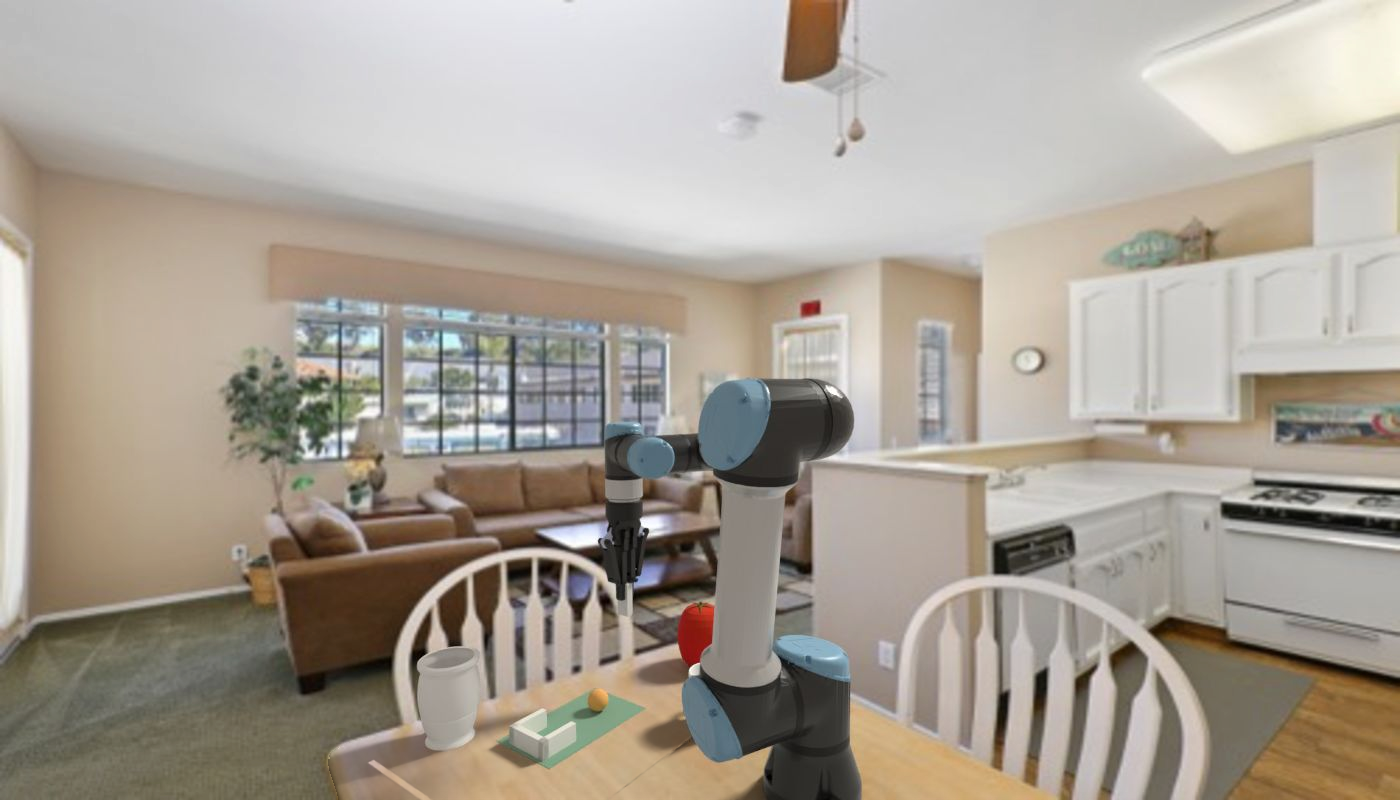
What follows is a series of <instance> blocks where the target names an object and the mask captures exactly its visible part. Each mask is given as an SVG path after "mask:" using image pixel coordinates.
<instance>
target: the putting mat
mask: <svg viewBox="0 0 1400 800" xmlns="http://www.w3.org/2000/svg"><path fill="white" fill-rule="evenodd" d="M595 689H597V688H596V687H595V688H592V689H591V690H589V691H587V692H585V693H582V694H581V695H579V696H578V697H576V698H574V699H572V700H570V701H568V702H566V703H565V704H563V705H561V706H559V707H557V708H555V709H553V710H551V711H550V712H547V727H546V728H545V729H543V730H541V731H539V732H538V733H537V734H539V735H541V736H543V737H545V736H546V735H548V734H550V733H552V732H553V731H555V730H557V729H559V728H560V727H562V726H564V725H566V724H567V723H569V722H571V721H572V722H574V723H576V742H574V743H572V744H571V745H569V746H567V747H566V748H564V749H562V750H561V751H559V752H558V753H556V754H554V755H553V756H551V757H549V758H548V759H546V760H544V761H542V760H540V759H538V758H536V757H534V756H532V755H530V754H528V753H526V752H524V751H523V750H521V749H519V748H517V747H515V746H513V745H511V744H509V734H507V735H506V736H503V737H502V738H500V739H498V740H496V742H497V743H499V744H501V745H503V746H505V747H506V748H509V750H512V751H514V752H515V753H518V754H519V755H522V756H524V757H525V758H527V759H530V760H531V761H533V762H535V763H537V764H538V765H541V766H543V767H544V768H546V769H548V770H551V769H553V768H554V767H555V766H557V765H558V764H560V763H562V762H564V761H565V760H566V759H568V758H570V757H571V756H573V755H574V754H576V753H577V752H579V751H580V750H582V749H584V748H585V747H587V746H588V745H590V744H592V743H593V742H595V741H596V740H599V739H600V738H601V737H603V736H604V735H606V734H607V733H610V731H613V730H614V729H615V728H617V727H619V726H620V725H621V724H623V723H625V722H627V721H628V720H631V719H632V717H635V716H636V715H638V714H640V713H641V712H643V711H644V710H646V709H647V708H646V707H644V706H642V705H641V704H636V703H634V702H632V701H630V700H627V699H624V698H622V697H618V696H616V695H614V694H611V693H609V692H606V693H607V695H608V704H607V706H606V707H605V709H603V710H602V711H598V712H596V711H593V710H591V709H590V707H589V706H588V696H589V694H590V693H591V692H592V691H593V690H595Z"/></svg>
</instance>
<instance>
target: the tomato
mask: <svg viewBox="0 0 1400 800" xmlns="http://www.w3.org/2000/svg"><path fill="white" fill-rule="evenodd" d="M714 609H715V605H713V604H711V603H709V601H706V602H703V601H699V602H691V604H689V605H687V606H686V607H685V609H684V610H683V611H682V612H681V615H680V619H679V622H678V625H677V632H676V633H677V644H678V645H677V646H678V650H679V652H680V656H681V658H682V660H683V662H684V663H685V665H687V666H688V667H689V668H691V667H692V666H693V665H695V664H697V663H700V658H701V654H702V652H703V651H704V649H705V648H707V647H708V646H709V645H711V644H712V637H713V623H714Z"/></svg>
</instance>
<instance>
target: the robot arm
mask: <svg viewBox="0 0 1400 800" xmlns="http://www.w3.org/2000/svg"><path fill="white" fill-rule="evenodd" d="M854 428H855V413H854V410H853V406H852V404H851V401H850V400H849V398H848V396H847V395H846V393H844V392H843V391H842V390H841V389H840V388H838V387H837V386H836V385H835V384H832V383H830V382H829V381H827V380H823V379H818V378H811V377H810V378H806V377H805V378H759V377H758V378H756V377H753V378H751V377H747V378H744V379H743V378H742V379H731V380H728V381H724V382H722V383H720V384H718V385H717V386H716V387H715V388H714V389H713V390H712V392H710V393H709V394H708V396H707V397H706V399H705V401H704V403H703V405H702V409H701V411H700V415H699V419H698V429H697V432H696V433H695V432H694V433H685V434H682V433H676V434H663V435H662V434H659V435H657V434H655V435H644V434H643V427H642V424H641V423H639V422H636V421H615V422H610V423H607V424H606V425H605V427H604V438H603V439H604V440H603V444H604V482H605V483H604V484H605V487H604V489H605V491H604V493H605V498H606V501H605V503H604V504H605V507H604V508H605V509H604V511H605V514H604V515H605V518H606V520H607V522H608V524H607V528H606V534H605V535H604V536H603V537H598V539H597V544H598V545H599V547H600V549H601V553H602V558H603V563H604V569H605V572H606V573H605V574H606V578H607V582H608V583H611V584H615V598H616V600H617V614H618V615H619V616H623V617H627V618H628V617H631V616H632V615H633V613H634V612H633V597H634V594H635V593H634V591H635V589H634V588H635V586H634V585H635V584H634V583H638V582H639V578H637V577H641V576H642V571H643V564H644V557H645V551H646V543H647V539H648V536H649V534H650V528H649V527H644V526H642V522H641V519H642V517H643V516H644V508H643V507H644V502H643V499H642V497H643V496H644V488H643V487H644V485H643V483H644V481H643V480H644V479H648V480H649V479H652V480H657V479H661V478H663V477H665V476H667V475H675V474H685V473H695V472H710V471H711V472H712V476H713V478H714V479H715V480H716V481H717V482H718V483H719V484H720V485H721V487H722V499H721V510H720V511H721V512H720V513H721V514H720V525H719V538H718V539H719V540H718V554H717V567H716V568H717V570H716V579H715V580H716V582H715V596H714V606H715V609H714V623H713V637H712V644H711V645H709V646H708V647H707V648H705V649H704V651H703V652H702V654H701V658H700V672H699V675H697V676H695V675H692V676H691V677H690V678H689V677H687V679H686V680H684V682H683V683H682V687H681V703H682V710H683V714H684V717H685V721H686V725H687V727H688V729H689V732H690V735H691V736H692V739H693V741H694V742H695V745H696V746H697V747H698V749H699V751H701V753H702V754H703V755H704V756H705V757H706V758H707V760H708V759H709V760H710V761H712V762H714V763H718V764H719V763H725V762H730V761H732V760H733V761H734V760H740V759H742V758H743V757H745V756H747V755H751V754H753V753H756V752H758V751H762V750H765V749H766V748H770V750H769V753H768V756H767V758H766V762H765V764H764V768H763V775H762V776H763V778H762V780H763V783H762V785H763V787H762V788H763V792H764V795H765V797H766V799H767V800H862V798H863V797H862V796H863V795H862V794H863V791H862V790H863V784H862V783H863V782H862V777H861V773H860V772H859V767H858V765H857V762H856V758H855V755H854V753H853V749H852V745H851V681H852V677H851V674H850V659H849V656H848V654H847V652H846V651H845V650H844V649H843V648H842V647H841V646H839V645H838V644H836V643H833V642H832V641H829V640H828V639H827V640H826V639H823V638H819V637H817V636H810V635H805V634H804V635H803V634H788V635H783V636H780V637H778V638H776V640H775V641H774V631H775V620H776V619H775V618H776V608H777V607H776V606H777V599H778V598H777V596H778V594H777V593H778V585H779V575H780V574H779V573H780V565H781V564H780V559H781V552H782V551H781V550H782V539H783V538H782V537H783V526H784V516H785V515H784V514H785V502H786V494H787V493H788V491H789V490H791V489H793V488H794V487H795V486H796V485H797V484H798V483H799V473H800V464H801V463H804V462H812V461H820V460H823V459H826V458H829V457H833V456H834V455H835V454H838V452H840V451H841V450H842V449H843V448H845V446H846V445H847V444H848V443H849V441H850V439H851V437H852V435H853V432H854ZM773 642H774V643H773Z"/></svg>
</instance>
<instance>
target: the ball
mask: <svg viewBox="0 0 1400 800" xmlns="http://www.w3.org/2000/svg"><path fill="white" fill-rule="evenodd" d="M607 693H608V692H607V691H605V690H604V689H602V688H596V689H595V690H593V691H592V692H591V693H590V694H589V696H588V706H589V707H590V709H591V710H593V711H596V712H598V711H602V710H603V709H605V707H606V706H607V704H608V695H607Z"/></svg>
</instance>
